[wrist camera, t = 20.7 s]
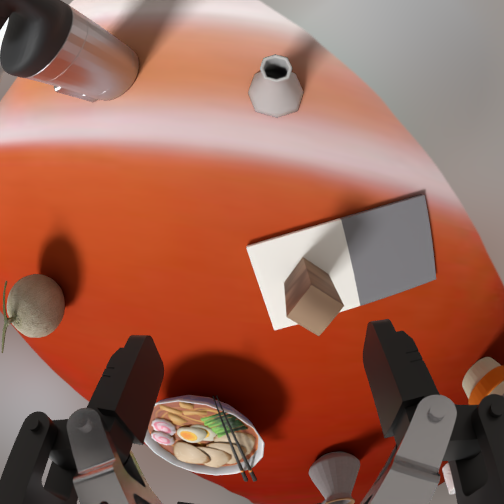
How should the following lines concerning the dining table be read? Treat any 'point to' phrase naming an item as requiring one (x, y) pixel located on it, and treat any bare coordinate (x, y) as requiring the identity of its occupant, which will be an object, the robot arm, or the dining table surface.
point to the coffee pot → (335, 476)
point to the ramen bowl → (204, 436)
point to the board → (351, 256)
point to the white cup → (448, 478)
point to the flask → (275, 88)
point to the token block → (311, 297)
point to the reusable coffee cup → (483, 380)
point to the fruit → (34, 306)
